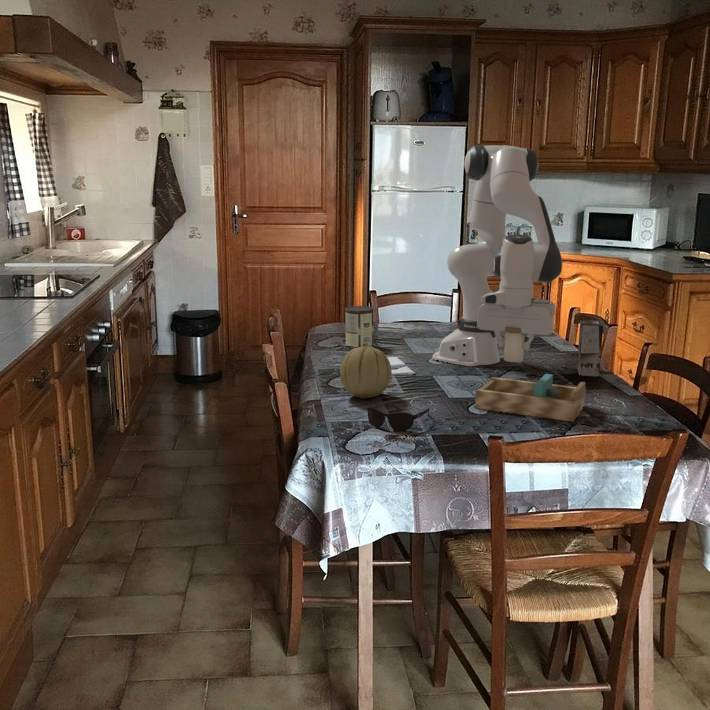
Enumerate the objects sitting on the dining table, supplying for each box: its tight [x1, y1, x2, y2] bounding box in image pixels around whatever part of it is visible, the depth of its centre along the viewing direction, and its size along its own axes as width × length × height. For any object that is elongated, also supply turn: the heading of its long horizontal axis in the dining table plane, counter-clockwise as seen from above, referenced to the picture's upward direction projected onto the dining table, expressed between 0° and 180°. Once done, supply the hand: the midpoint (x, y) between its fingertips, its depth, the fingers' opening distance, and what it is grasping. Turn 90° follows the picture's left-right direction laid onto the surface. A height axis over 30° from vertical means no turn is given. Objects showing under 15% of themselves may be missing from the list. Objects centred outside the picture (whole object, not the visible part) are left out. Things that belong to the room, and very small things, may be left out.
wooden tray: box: [474, 376, 587, 422], centre depth 211 cm, size 26×15×7 cm, turn 63°
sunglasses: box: [367, 401, 430, 432], centre depth 201 cm, size 14×16×5 cm
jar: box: [503, 327, 526, 363], centre depth 210 cm, size 6×6×9 cm
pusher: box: [534, 373, 559, 399], centre depth 209 cm, size 5×12×7 cm, turn 153°
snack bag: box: [386, 356, 416, 374], centre depth 252 cm, size 19×20×2 cm
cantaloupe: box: [339, 343, 393, 399], centre depth 220 cm, size 15×15×15 cm
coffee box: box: [576, 319, 604, 377], centre depth 245 cm, size 9×6×16 cm
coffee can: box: [344, 305, 375, 347], centre depth 282 cm, size 10×10×14 cm
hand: (514, 348), depth 211 cm, fingers closed on jar, 5 cm apart
